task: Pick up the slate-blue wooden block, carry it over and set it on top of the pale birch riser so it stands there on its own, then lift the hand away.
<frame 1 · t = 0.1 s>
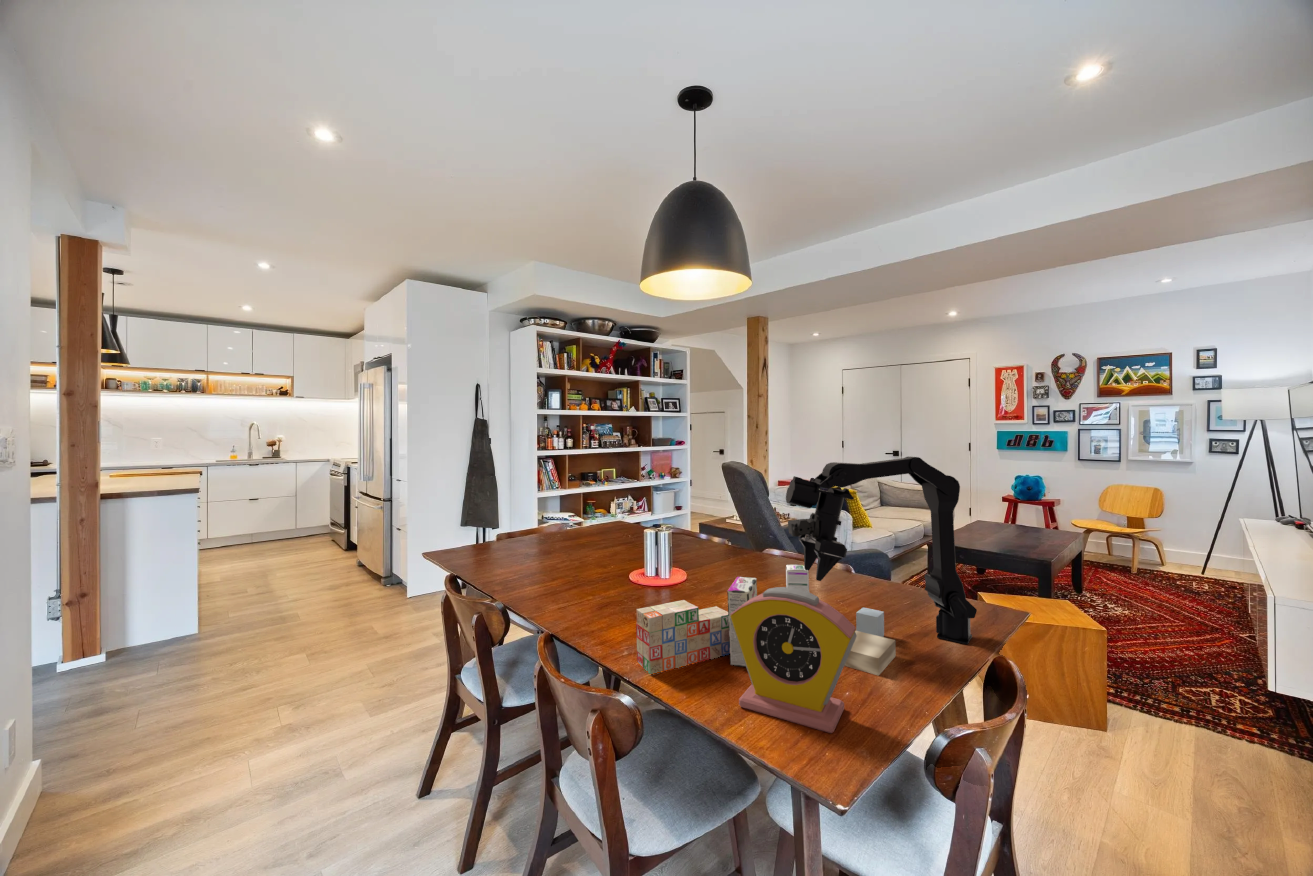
hand: (812, 575, 123), 15 cm above the table, tool pointing down, fingers open, 9 cm apart
yellow mantel clock: (791, 709, 91), on the table
birch riser: (858, 659, 112), on the table
slate block: (870, 636, 124), on the table
syrup box: (797, 622, 134), on the table
stack of blocks: (685, 660, 112), on the table
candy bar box: (744, 657, 113), on the table
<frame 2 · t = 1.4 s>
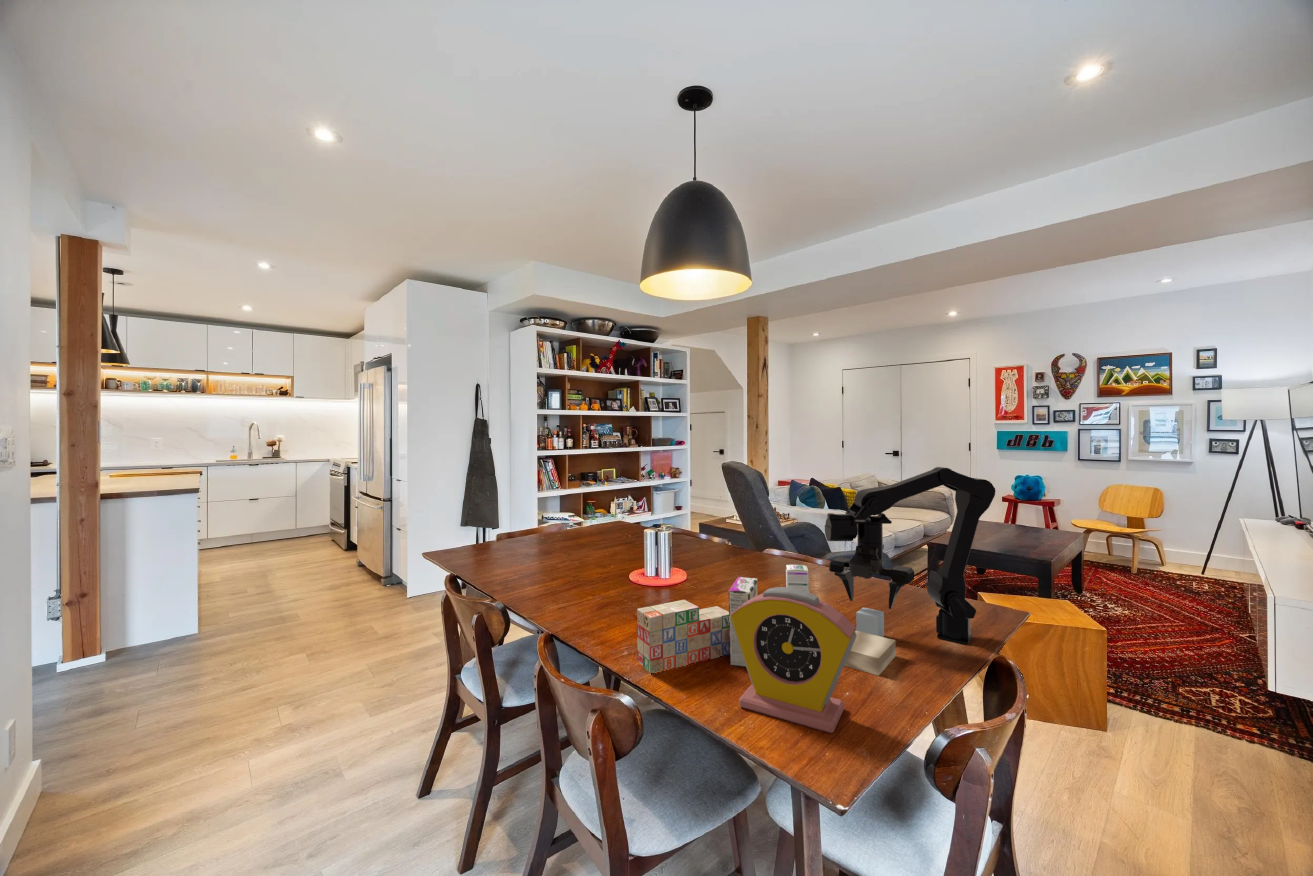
hand: (870, 604, 124), 8 cm above the table, tool pointing down, fingers open, 9 cm apart
nothing on the table moved.
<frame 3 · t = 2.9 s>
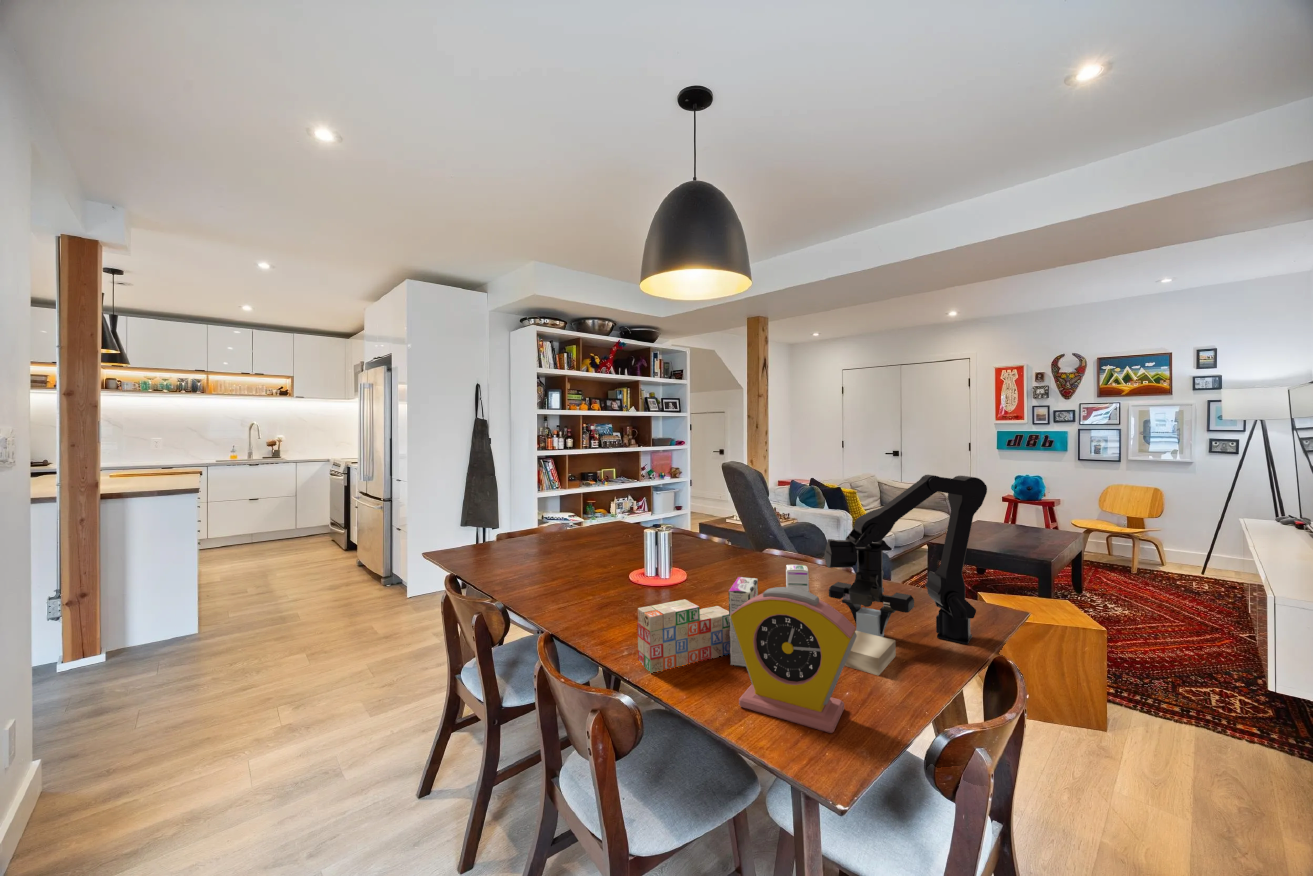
hand: (870, 631, 124), 1 cm above the table, tool pointing down, fingers closed on slate block, 5 cm apart
slate block: (870, 636, 124), on the table, touching gripper
everything else where it was.
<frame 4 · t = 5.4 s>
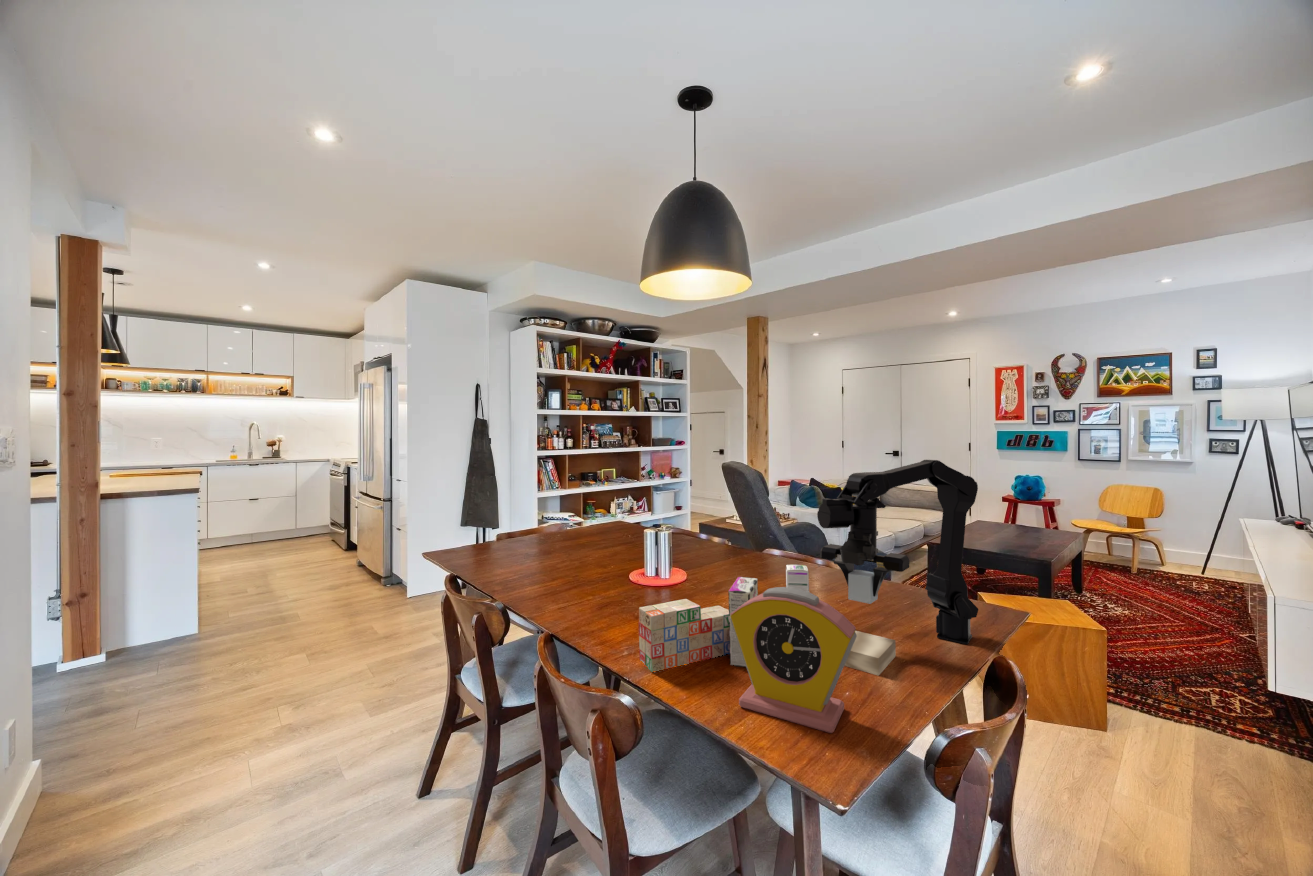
hand: (863, 593, 118), 12 cm above the table, tool pointing down, fingers closed on slate block, 5 cm apart
slate block: (863, 599, 118), point 11 cm above the table, touching gripper
everything else where it was.
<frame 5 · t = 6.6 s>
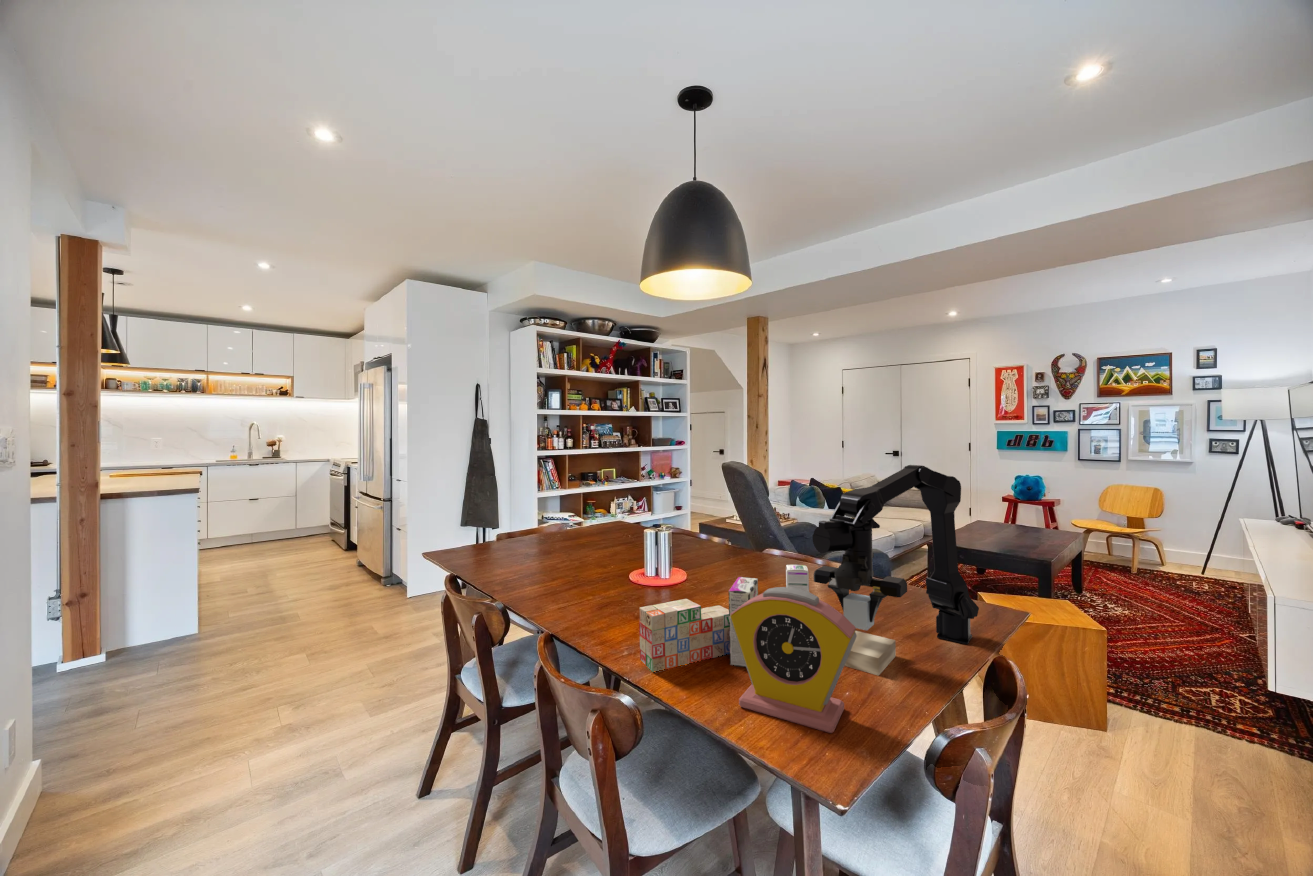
hand: (858, 619, 112), 9 cm above the table, tool pointing down, fingers closed on slate block, 5 cm apart
slate block: (859, 624, 112), point 7 cm above the table, touching gripper
when the fingers open (6 cm above the table, at t = 7.7 s): slate block drops 2 cm, resting on birch riser.
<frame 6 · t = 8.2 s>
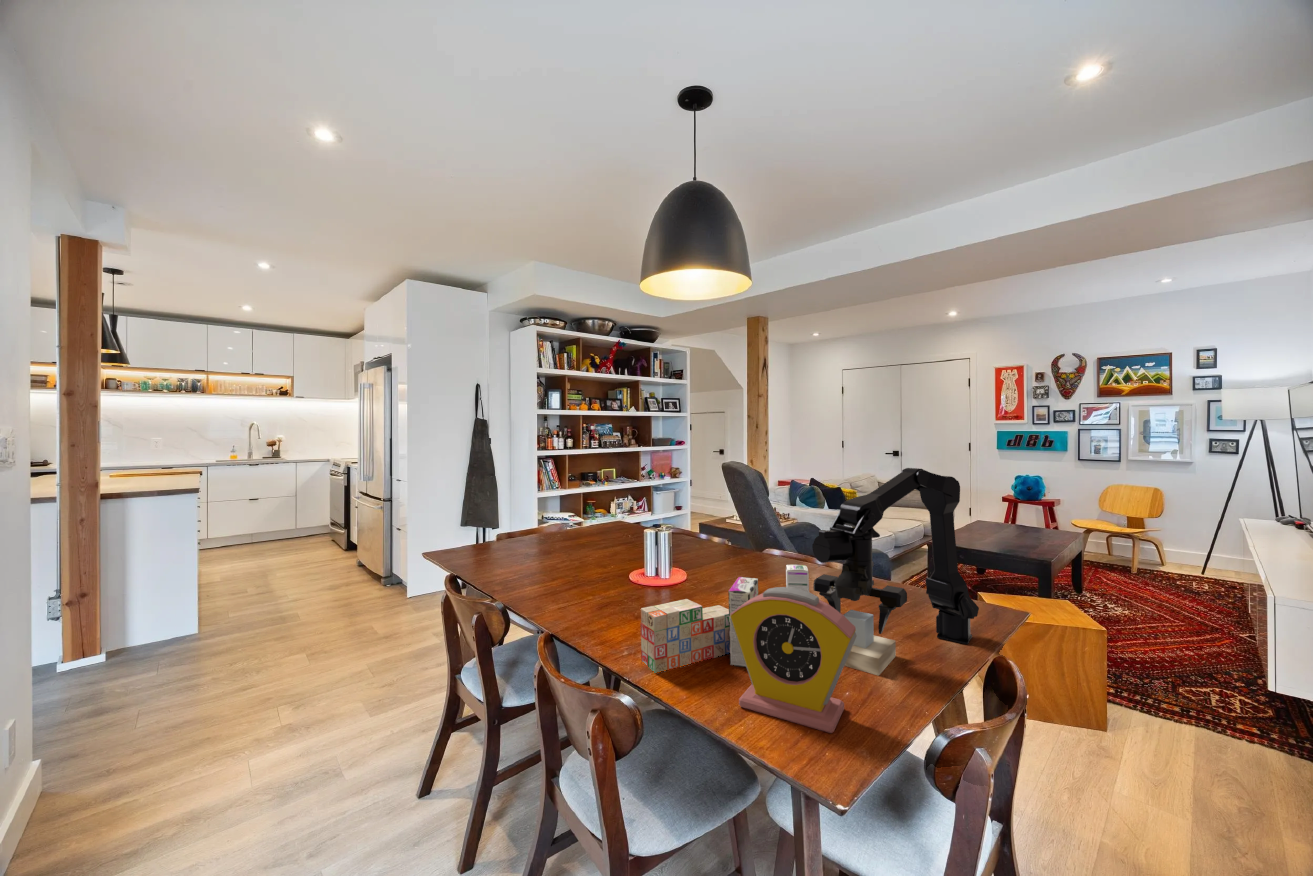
hand: (858, 628, 112), 6 cm above the table, tool pointing down, fingers open, 9 cm apart
birch riser: (858, 660, 112), on the table, touching slate block
slate block: (858, 642, 112), point 3 cm above the table, touching birch riser
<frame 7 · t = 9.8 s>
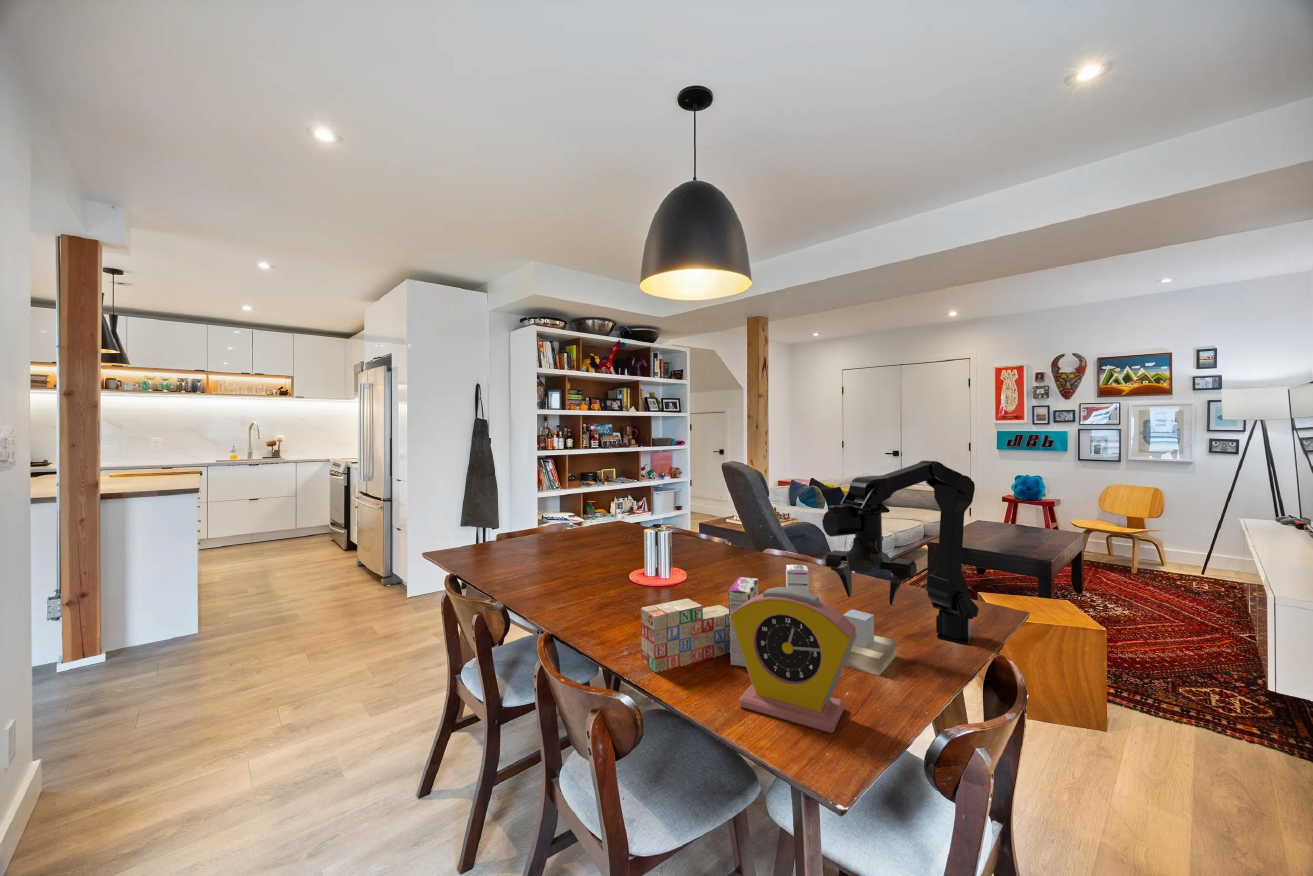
hand: (870, 600, 115), 11 cm above the table, tool pointing down, fingers open, 9 cm apart
birch riser: (859, 660, 112), on the table
slate block: (858, 641, 112), point 3 cm above the table
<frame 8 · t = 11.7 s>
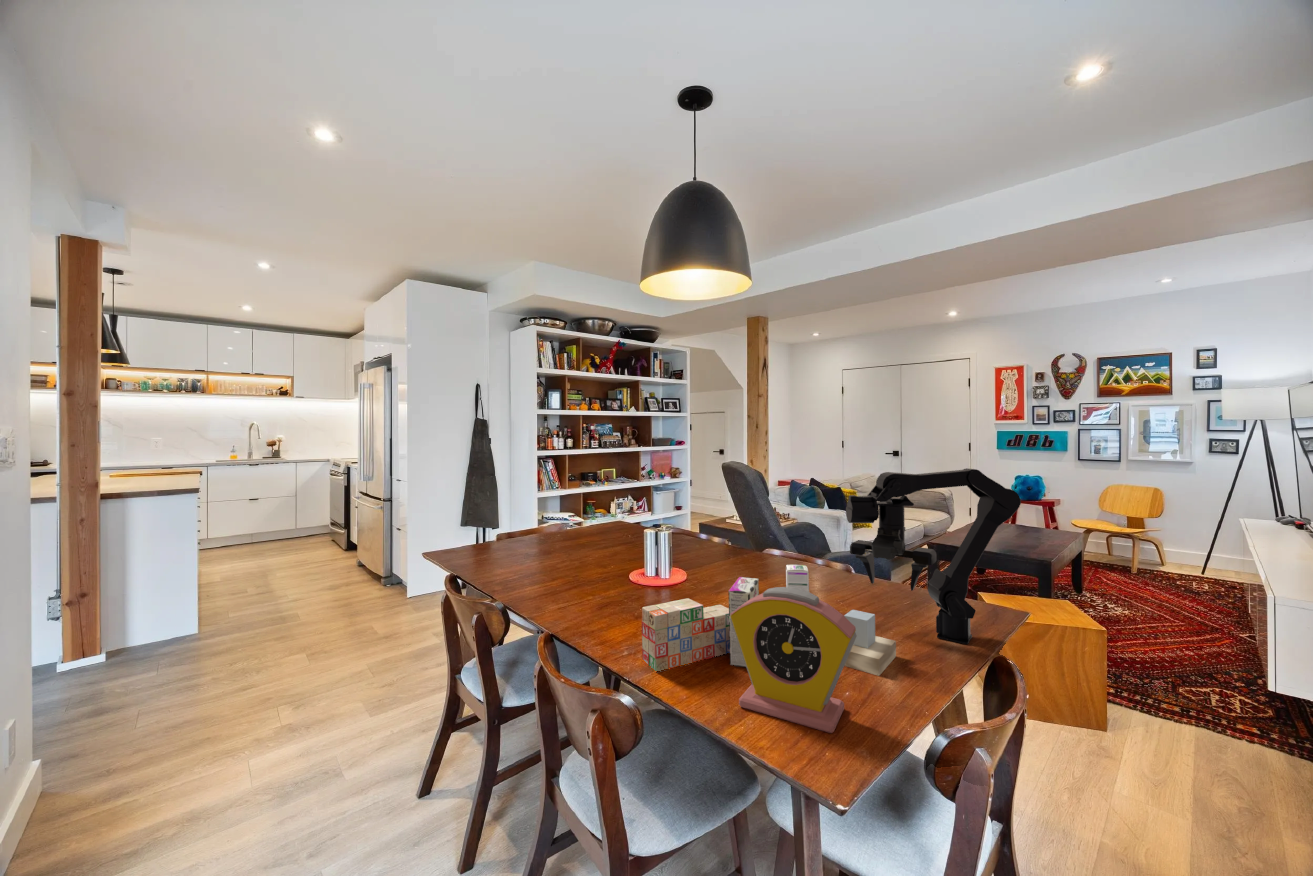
hand: (891, 586, 124), 12 cm above the table, tool pointing down, fingers open, 9 cm apart
at the end: slate block inside the target area on the birch riser (0.4 cm from its centre), point 4.1 cm above the birch riser's base; slate block tilted 1°; the gripper is holding nothing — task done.
